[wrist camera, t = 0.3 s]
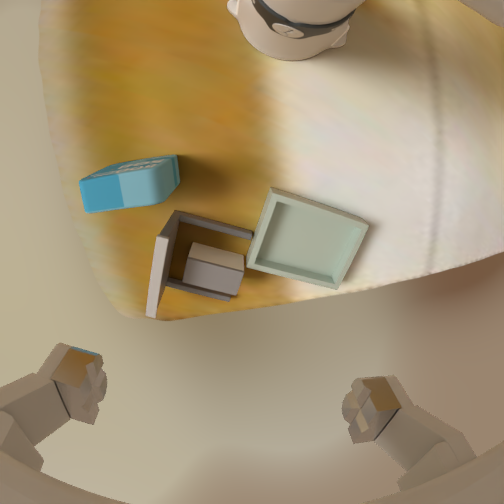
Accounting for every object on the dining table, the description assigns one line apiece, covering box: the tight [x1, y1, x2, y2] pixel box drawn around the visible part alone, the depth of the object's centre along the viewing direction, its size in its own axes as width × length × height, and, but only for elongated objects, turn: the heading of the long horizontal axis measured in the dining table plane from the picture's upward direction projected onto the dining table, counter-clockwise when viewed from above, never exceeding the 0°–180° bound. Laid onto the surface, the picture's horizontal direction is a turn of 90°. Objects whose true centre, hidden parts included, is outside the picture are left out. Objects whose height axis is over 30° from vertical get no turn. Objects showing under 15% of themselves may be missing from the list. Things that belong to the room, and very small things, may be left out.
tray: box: [246, 187, 369, 290], centre depth 47 cm, size 13×17×4 cm
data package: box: [79, 155, 180, 213], centre depth 37 cm, size 12×4×12 cm, turn 93°
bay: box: [146, 210, 252, 318], centre depth 45 cm, size 14×13×11 cm
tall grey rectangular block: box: [182, 242, 244, 295], centre depth 47 cm, size 4×9×6 cm, turn 72°
